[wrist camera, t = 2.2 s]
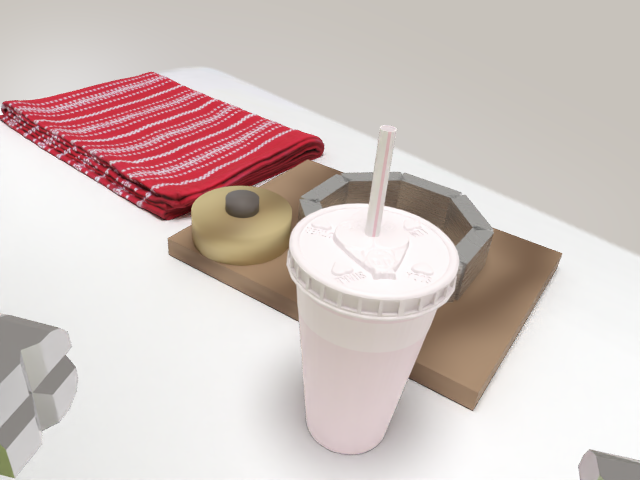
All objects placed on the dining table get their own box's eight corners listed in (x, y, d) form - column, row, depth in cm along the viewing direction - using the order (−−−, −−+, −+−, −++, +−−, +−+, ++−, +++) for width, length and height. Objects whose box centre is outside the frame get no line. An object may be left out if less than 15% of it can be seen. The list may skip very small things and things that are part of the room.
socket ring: (264, 254, 36) (266, 218, 34) (358, 188, 44) (362, 157, 42) (432, 332, 31) (441, 294, 30) (502, 243, 39) (512, 210, 38)
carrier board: (168, 254, 37) (165, 198, 35) (306, 173, 48) (310, 126, 46) (472, 410, 28) (493, 348, 26) (556, 268, 39) (576, 216, 37)
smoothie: (398, 367, 30) (455, 103, 23) (433, 478, 25) (522, 182, 18) (272, 371, 29) (287, 97, 22) (280, 486, 24) (304, 179, 17)
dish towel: (171, 235, 40) (169, 200, 38) (-6, 126, 52) (-13, 96, 50) (331, 161, 51) (334, 132, 50) (156, 86, 63) (155, 61, 62)
